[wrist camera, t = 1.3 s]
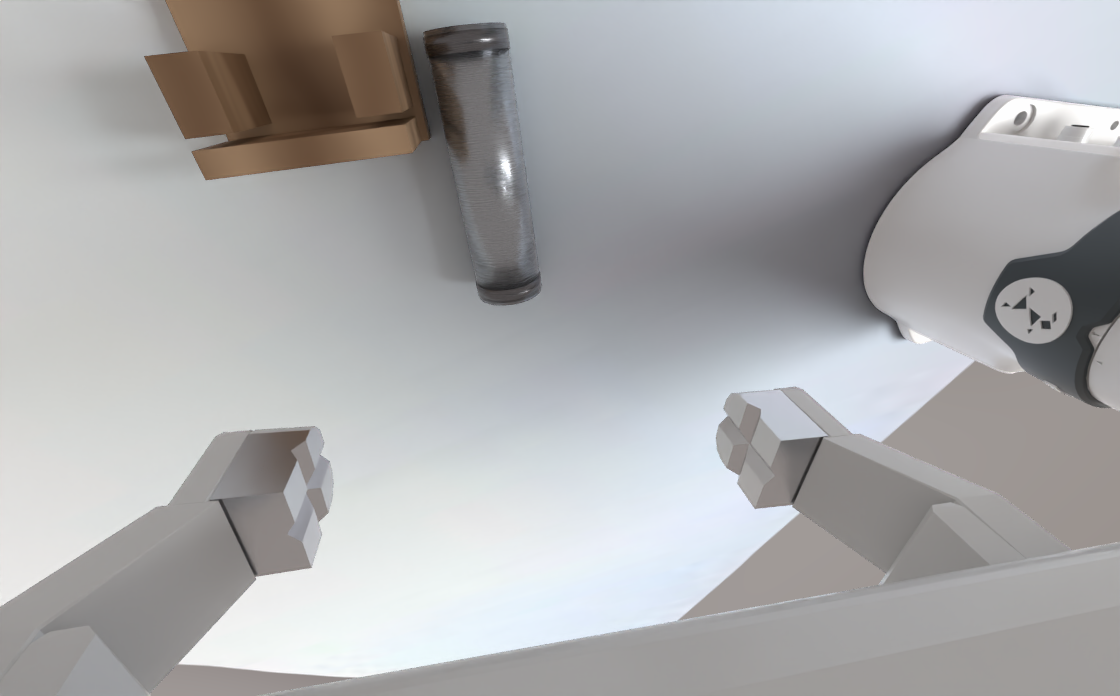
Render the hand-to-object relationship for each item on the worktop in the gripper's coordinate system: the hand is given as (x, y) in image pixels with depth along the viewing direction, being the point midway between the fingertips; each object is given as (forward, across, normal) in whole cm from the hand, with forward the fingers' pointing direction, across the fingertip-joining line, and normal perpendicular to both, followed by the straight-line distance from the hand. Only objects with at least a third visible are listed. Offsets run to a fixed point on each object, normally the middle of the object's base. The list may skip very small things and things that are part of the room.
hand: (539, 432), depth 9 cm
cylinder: (+22, 0, -1) cm, 22 cm away
